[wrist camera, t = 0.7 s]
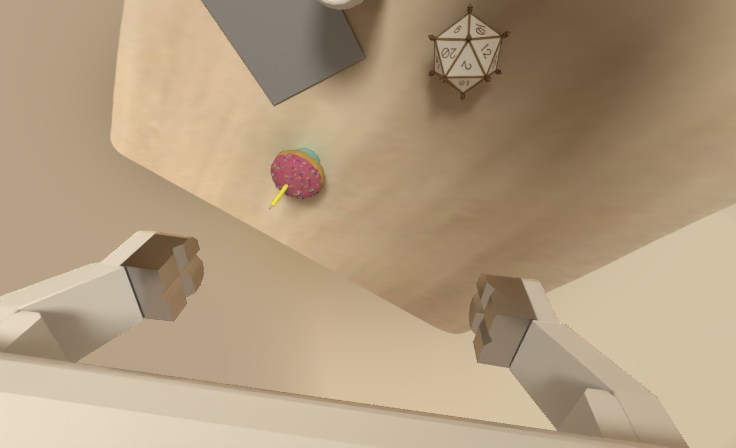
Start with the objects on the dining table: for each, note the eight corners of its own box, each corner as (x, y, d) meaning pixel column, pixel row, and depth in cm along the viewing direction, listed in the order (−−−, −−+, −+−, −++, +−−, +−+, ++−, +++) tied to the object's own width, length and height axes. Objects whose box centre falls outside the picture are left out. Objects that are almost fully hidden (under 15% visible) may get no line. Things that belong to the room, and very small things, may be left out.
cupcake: (303, 187, 63) (278, 233, 55) (271, 149, 59) (238, 193, 51) (341, 169, 59) (319, 216, 50) (309, 127, 55) (280, 171, 46)
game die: (455, 49, 47) (409, 97, 44) (460, -19, 39) (405, 33, 37) (518, 73, 43) (471, 126, 41) (536, 3, 36) (481, 63, 33)
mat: (271, -134, 36) (270, -134, 35) (365, 57, 46) (364, 57, 46) (173, -43, 43) (172, -43, 43) (274, 104, 53) (273, 105, 53)
